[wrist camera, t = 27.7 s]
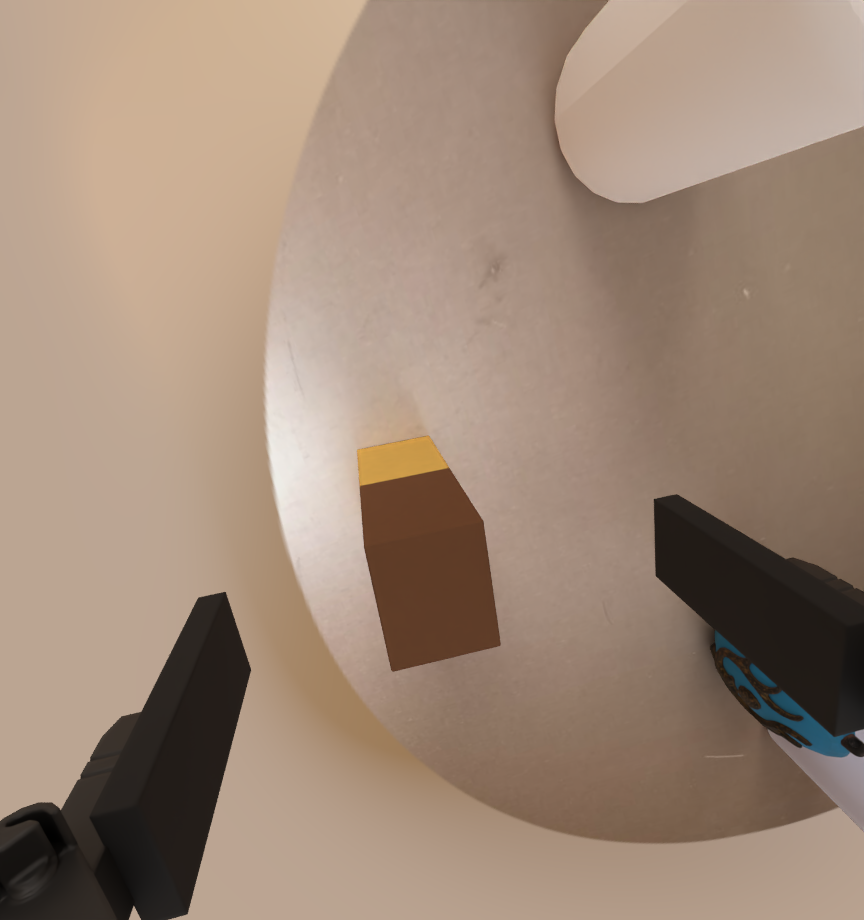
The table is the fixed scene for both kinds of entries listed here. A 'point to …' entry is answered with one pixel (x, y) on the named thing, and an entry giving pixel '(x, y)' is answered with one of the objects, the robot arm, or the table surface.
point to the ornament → (776, 705)
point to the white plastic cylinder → (705, 89)
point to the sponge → (424, 555)
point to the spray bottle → (833, 775)
